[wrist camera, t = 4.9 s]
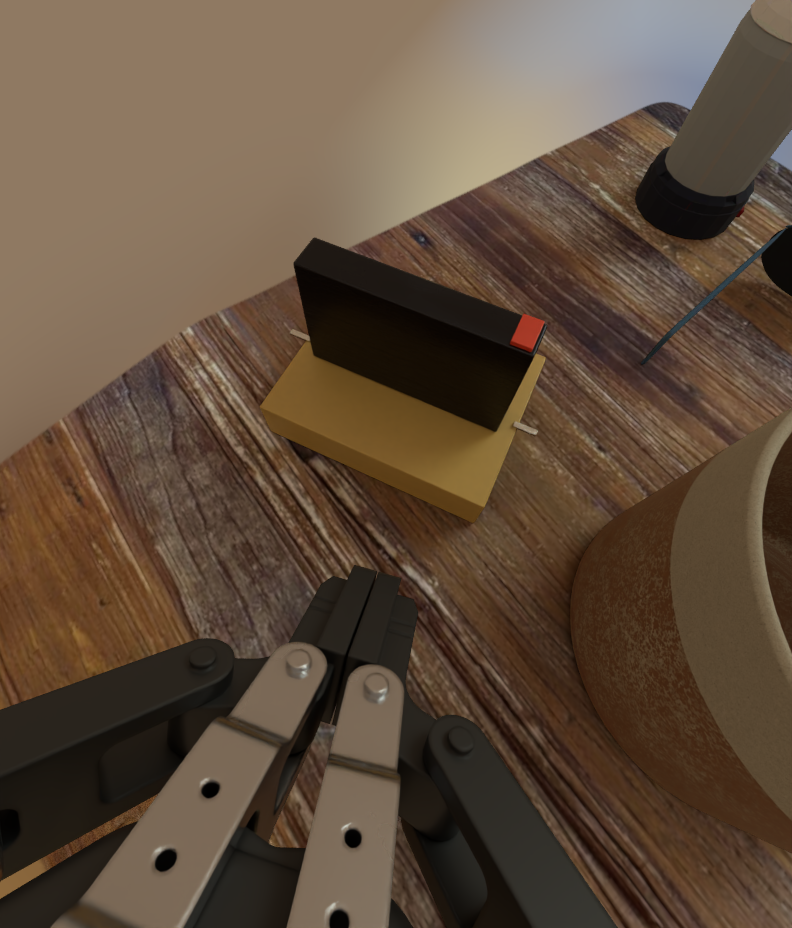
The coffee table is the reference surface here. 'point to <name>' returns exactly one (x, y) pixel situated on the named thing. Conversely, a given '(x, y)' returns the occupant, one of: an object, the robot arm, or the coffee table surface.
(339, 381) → the plate
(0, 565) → the coffee table surface
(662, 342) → the sunglasses
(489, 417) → the block
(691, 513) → the planter
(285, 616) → the coffee table surface
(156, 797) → the robot arm
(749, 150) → the humidifier
